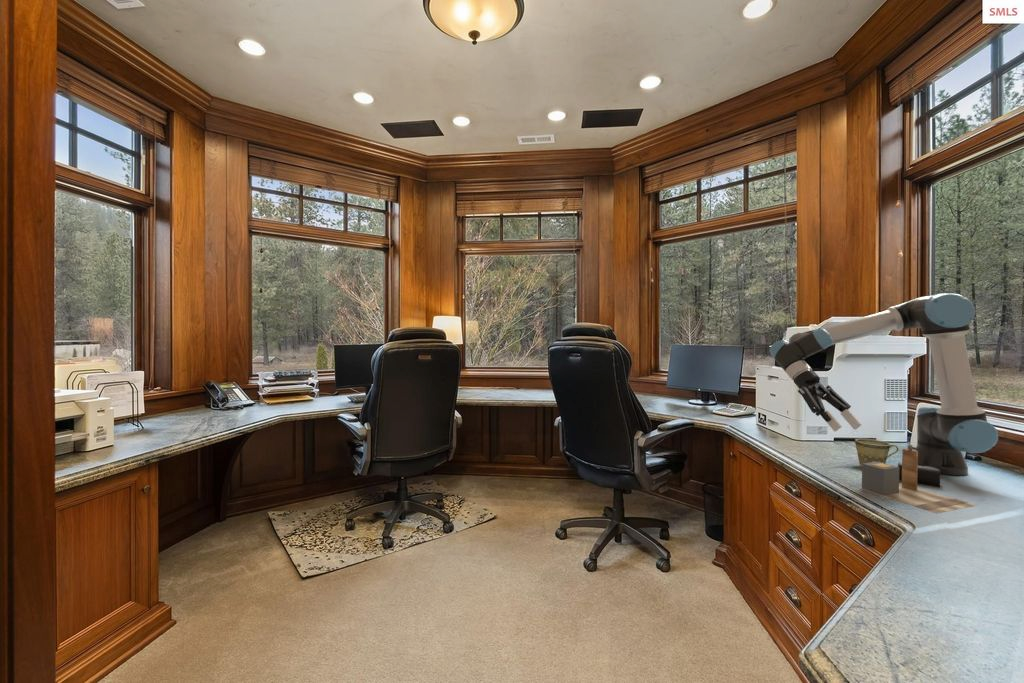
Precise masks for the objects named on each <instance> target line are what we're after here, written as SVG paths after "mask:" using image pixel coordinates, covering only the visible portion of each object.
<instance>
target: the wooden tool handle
mask: <svg viewBox="0 0 1024 683" xmlns="http://www.w3.org/2000/svg"><path fill="white" fill-rule="evenodd" d="M901 451H902V452H901V453H902V455H901V457H902V458H901V460H902V461H901V463H902V480H901V484H902V487H903V488H906V489H911V490H917V488H918V483H917V475H918V451H916V450H915V449H913V445H912V444H908V446H907V448H902V450H901Z"/></svg>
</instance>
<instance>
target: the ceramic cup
mask: <svg viewBox="0 0 1024 683" xmlns="http://www.w3.org/2000/svg"><path fill="white" fill-rule="evenodd" d="M854 441H855V448H856V452H857V458H858V464H859V466H861V467H862V463H870V462H881V463H885V464H887V463H886V462H887V459H888V458H890V457H891V456H892V455H894V454H896V453H898V452H899V447H898V446H897V445H895V444H891V443H889V442H887V441H884V440H879V439H874V438H873V439H870V438H855V440H854ZM893 447H895V448H896V450H895V451H894V452H891V453H890V454H889V452H890V449H891V448H893Z"/></svg>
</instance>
